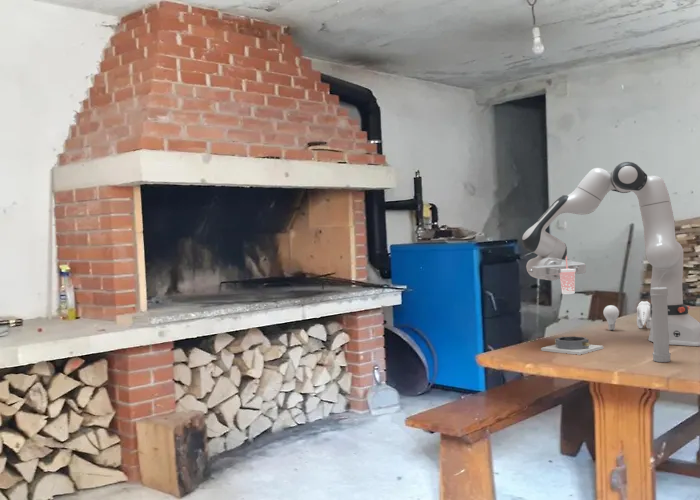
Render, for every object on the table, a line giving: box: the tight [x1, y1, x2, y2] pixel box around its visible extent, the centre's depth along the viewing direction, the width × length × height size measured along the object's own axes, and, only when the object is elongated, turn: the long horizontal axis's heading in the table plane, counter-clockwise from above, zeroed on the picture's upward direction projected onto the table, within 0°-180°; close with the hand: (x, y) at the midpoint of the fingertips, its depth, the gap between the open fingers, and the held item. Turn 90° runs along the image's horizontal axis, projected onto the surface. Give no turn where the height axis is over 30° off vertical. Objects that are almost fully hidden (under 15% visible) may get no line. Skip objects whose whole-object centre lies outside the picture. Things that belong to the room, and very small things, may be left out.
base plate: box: [540, 343, 604, 356], centre depth 253 cm, size 16×16×1 cm
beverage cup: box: [559, 255, 576, 295], centre depth 253 cm, size 6×6×14 cm
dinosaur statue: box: [636, 300, 651, 330], centre depth 294 cm, size 7×24×11 cm, turn 154°
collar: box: [554, 335, 591, 350], centre depth 253 cm, size 13×11×3 cm
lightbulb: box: [602, 304, 620, 332], centre depth 292 cm, size 6×6×11 cm
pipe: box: [649, 270, 672, 363], centre depth 225 cm, size 6×6×30 cm
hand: (568, 270), depth 252 cm, fingers closed on beverage cup, 6 cm apart
